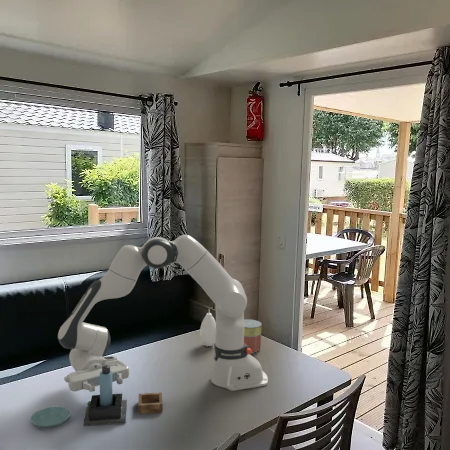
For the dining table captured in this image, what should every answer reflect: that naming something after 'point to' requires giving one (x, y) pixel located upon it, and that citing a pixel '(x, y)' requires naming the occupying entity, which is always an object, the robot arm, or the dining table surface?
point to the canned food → (252, 334)
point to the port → (105, 411)
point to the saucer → (50, 417)
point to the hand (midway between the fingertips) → (107, 385)
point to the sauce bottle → (208, 330)
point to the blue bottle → (105, 386)
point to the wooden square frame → (150, 403)
